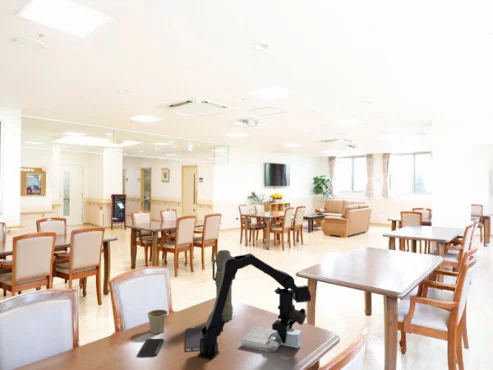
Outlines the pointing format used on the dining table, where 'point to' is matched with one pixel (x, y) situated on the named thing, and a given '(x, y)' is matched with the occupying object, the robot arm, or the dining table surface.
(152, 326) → the flower pot
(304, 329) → the dining table surface
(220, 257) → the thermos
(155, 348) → the phone
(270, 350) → the steel hinge leaf
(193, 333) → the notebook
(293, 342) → the blue-grey hinge leaf
